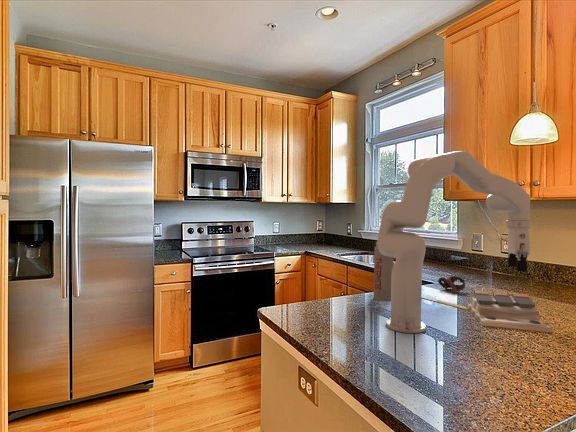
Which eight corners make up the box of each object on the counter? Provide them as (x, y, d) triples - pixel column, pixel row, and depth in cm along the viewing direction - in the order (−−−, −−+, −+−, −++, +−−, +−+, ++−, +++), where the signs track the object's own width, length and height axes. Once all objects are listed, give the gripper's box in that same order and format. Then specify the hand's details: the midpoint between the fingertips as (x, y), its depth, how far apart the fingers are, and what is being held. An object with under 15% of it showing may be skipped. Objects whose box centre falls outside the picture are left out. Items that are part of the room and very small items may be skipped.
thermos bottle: (380, 301, 143) (382, 235, 143) (369, 296, 151) (371, 234, 150) (396, 299, 146) (397, 235, 146) (384, 295, 154) (385, 233, 153)
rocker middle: (513, 306, 121) (514, 302, 121) (498, 304, 122) (498, 301, 122) (506, 296, 128) (507, 292, 128) (492, 295, 130) (492, 291, 130)
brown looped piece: (462, 290, 167) (467, 277, 163) (460, 302, 160) (466, 290, 156) (436, 281, 172) (441, 269, 167) (434, 293, 165) (438, 280, 160)
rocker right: (534, 307, 119) (535, 303, 119) (519, 306, 121) (519, 302, 120) (526, 297, 127) (527, 293, 126) (511, 296, 128) (512, 292, 128)
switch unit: (551, 332, 109) (551, 315, 109) (481, 325, 115) (482, 309, 115) (525, 312, 130) (525, 298, 130) (467, 307, 136) (468, 294, 136)
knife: (405, 290, 162) (399, 290, 160) (473, 307, 135) (467, 307, 132) (405, 293, 162) (399, 293, 160) (473, 310, 135) (466, 310, 132)
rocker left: (493, 304, 123) (493, 300, 123) (478, 303, 124) (478, 299, 124) (487, 294, 130) (487, 291, 130) (473, 293, 132) (473, 290, 131)
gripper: (538, 226, 121) (537, 273, 122) (520, 223, 138) (520, 265, 138) (514, 226, 123) (513, 272, 124) (499, 223, 140) (499, 264, 140)
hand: (517, 268), depth 131 cm, fingers open, 9 cm apart
